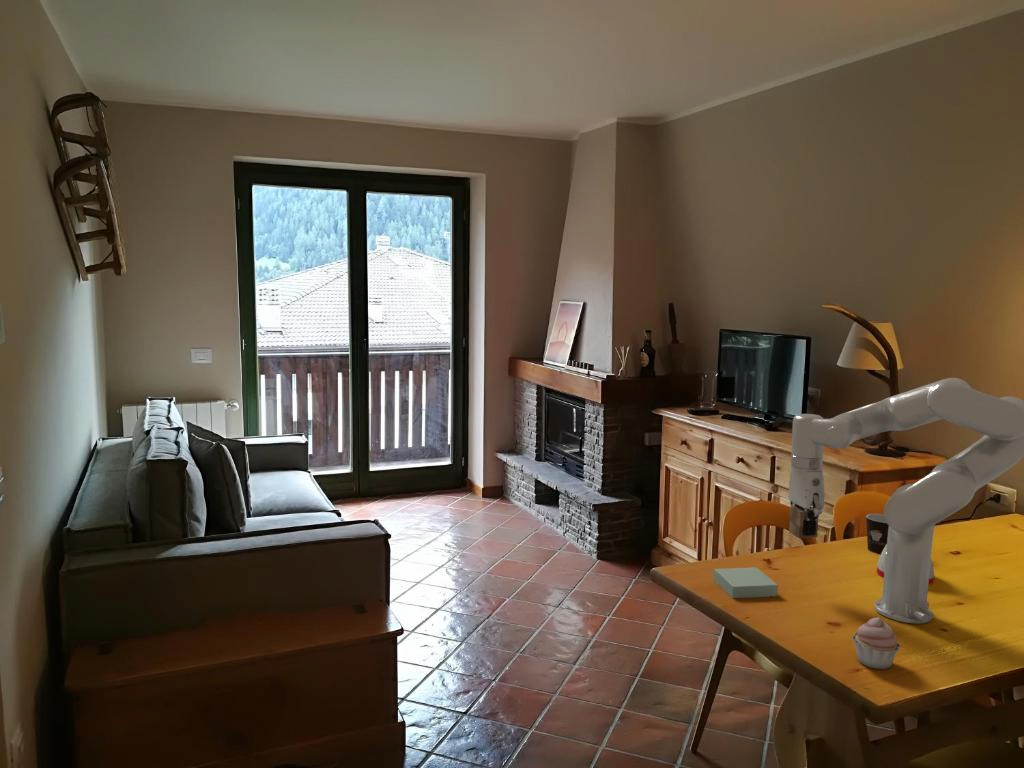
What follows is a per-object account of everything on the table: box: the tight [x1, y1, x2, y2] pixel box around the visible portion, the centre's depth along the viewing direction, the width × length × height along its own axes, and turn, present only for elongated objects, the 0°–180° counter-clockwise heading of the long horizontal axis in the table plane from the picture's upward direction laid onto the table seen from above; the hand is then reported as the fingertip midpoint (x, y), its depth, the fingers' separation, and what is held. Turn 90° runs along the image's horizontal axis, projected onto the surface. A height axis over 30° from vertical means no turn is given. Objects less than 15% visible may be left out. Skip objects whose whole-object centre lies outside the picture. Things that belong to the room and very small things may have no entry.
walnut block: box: [788, 505, 819, 539], centre depth 194 cm, size 5×5×7 cm
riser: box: [712, 567, 779, 599], centre depth 196 cm, size 12×12×3 cm
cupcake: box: [850, 617, 902, 670], centre depth 157 cm, size 9×9×10 cm
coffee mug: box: [865, 513, 889, 555], centre depth 224 cm, size 12×9×10 cm
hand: (803, 530), depth 194 cm, fingers closed on walnut block, 5 cm apart
